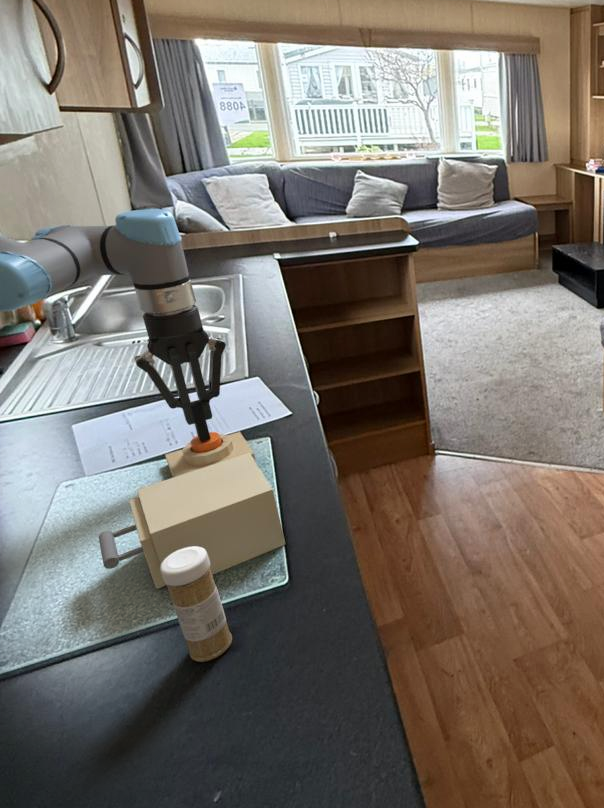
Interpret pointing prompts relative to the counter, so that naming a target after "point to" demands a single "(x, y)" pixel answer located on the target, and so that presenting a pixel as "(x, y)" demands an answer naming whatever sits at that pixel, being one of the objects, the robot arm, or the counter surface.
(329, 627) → the counter surface
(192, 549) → the sprinkles bottle
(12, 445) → the counter surface
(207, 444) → the button
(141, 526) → the pull-out drawer
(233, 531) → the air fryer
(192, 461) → the panel
